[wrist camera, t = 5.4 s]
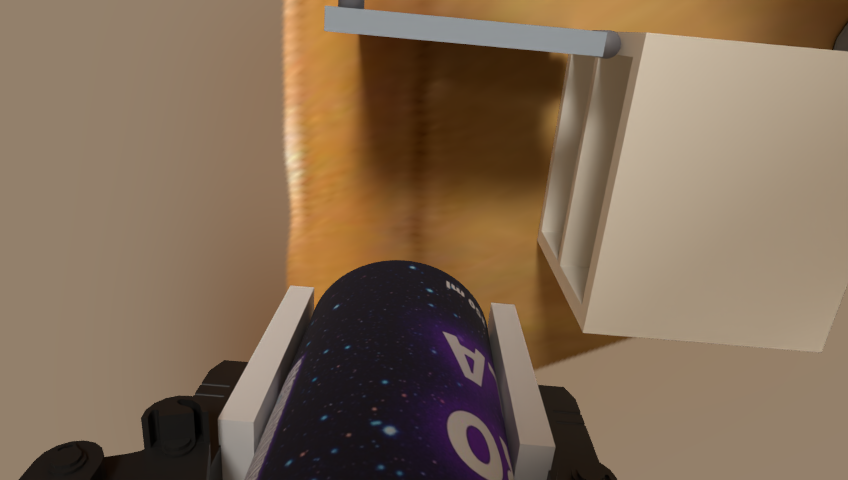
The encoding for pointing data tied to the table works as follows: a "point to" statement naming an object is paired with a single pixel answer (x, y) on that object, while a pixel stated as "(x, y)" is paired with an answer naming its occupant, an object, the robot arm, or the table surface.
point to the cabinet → (702, 191)
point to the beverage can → (389, 386)
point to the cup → (842, 40)
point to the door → (469, 31)
